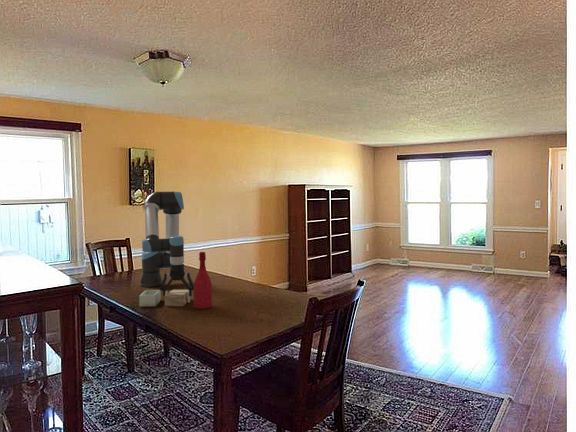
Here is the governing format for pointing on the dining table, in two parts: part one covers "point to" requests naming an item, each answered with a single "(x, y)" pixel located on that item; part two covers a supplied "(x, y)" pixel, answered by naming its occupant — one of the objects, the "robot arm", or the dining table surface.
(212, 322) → the dining table surface
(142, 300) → the dish
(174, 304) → the lid
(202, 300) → the wine bottle
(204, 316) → the dining table surface
